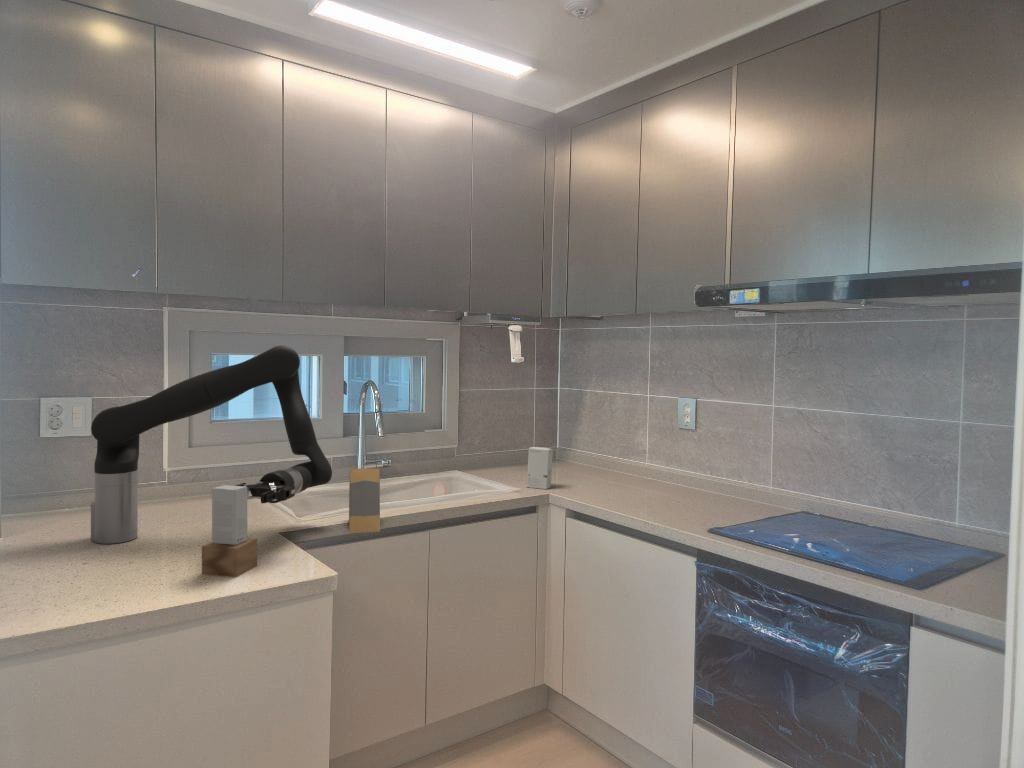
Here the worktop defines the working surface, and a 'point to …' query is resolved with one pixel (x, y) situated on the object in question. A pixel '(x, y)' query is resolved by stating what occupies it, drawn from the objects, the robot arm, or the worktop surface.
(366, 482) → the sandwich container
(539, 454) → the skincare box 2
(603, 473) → the worktop surface
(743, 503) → the worktop surface
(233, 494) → the skincare box
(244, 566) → the walnut block
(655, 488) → the worktop surface
